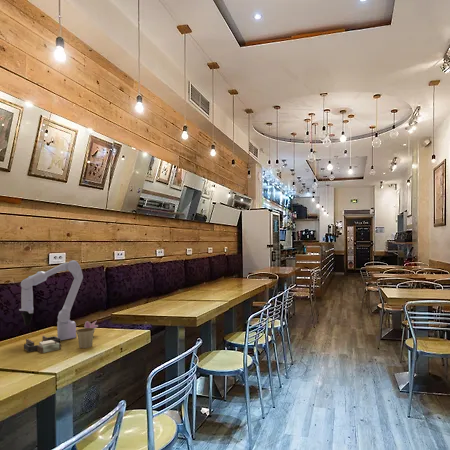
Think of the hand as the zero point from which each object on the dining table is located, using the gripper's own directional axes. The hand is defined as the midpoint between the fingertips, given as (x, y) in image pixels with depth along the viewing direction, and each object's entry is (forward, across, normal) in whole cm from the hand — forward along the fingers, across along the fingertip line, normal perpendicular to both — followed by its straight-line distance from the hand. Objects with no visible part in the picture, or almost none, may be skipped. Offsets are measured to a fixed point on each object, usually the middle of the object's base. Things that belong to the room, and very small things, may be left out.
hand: (27, 325), depth 209 cm
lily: (+10, +16, +28) cm, 33 cm away
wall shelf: (+9, +15, +3) cm, 18 cm away
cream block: (+10, +24, +2) cm, 26 cm away
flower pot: (+10, +35, +18) cm, 40 cm away
